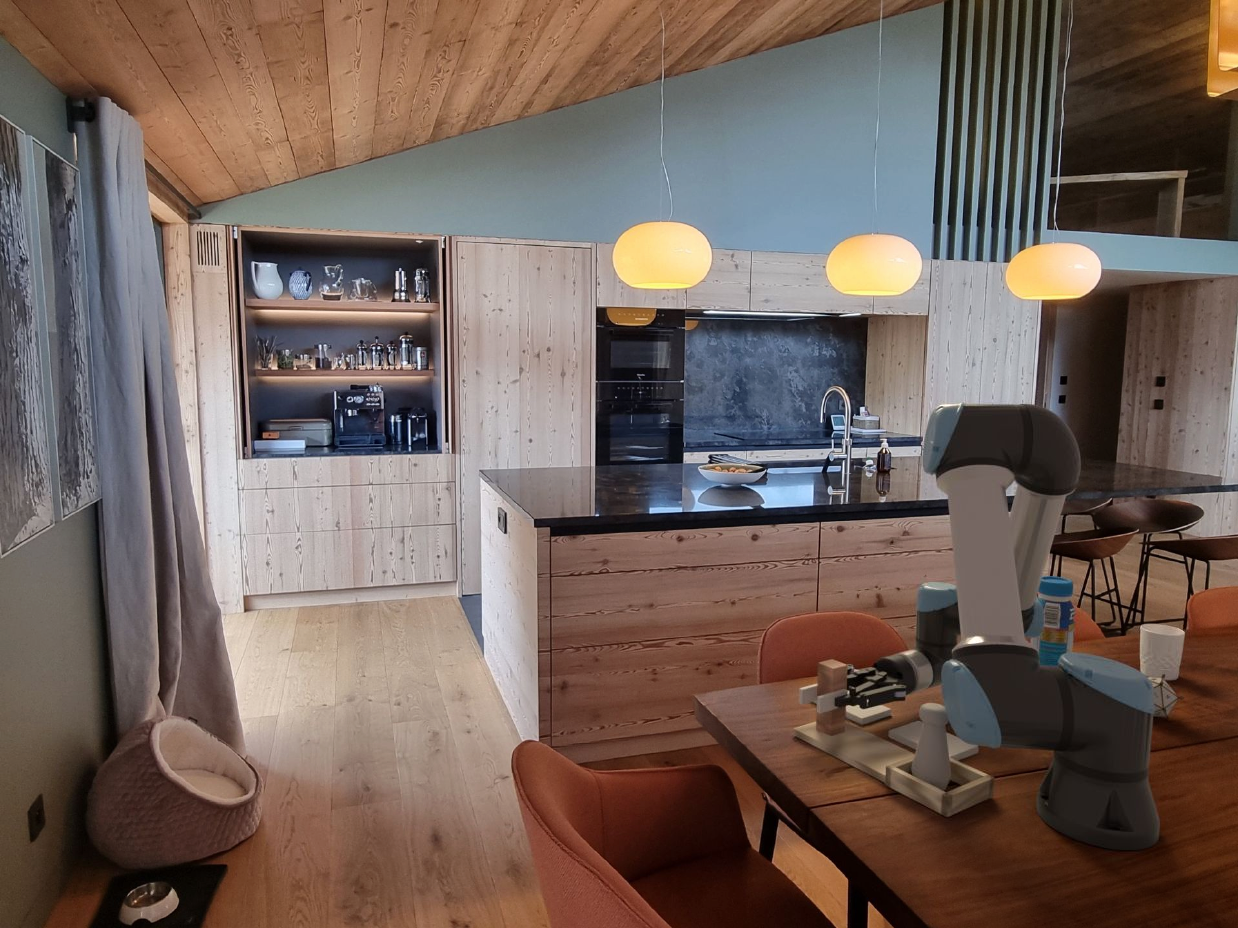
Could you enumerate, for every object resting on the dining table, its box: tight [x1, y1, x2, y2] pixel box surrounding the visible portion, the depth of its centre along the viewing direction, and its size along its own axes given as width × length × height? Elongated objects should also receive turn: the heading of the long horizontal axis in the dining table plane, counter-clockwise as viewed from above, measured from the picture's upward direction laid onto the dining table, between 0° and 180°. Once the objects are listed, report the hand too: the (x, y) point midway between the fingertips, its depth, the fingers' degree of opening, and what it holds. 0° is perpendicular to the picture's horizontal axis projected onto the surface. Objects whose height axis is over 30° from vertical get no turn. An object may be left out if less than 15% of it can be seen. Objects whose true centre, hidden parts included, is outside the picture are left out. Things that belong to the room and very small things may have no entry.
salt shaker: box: [911, 702, 951, 792], centre depth 126 cm, size 6×6×13 cm
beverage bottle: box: [1029, 575, 1076, 666], centre depth 177 cm, size 8×8×20 cm
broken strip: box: [812, 691, 979, 761], centre depth 149 cm, size 32×8×1 cm, turn 32°
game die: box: [1147, 674, 1185, 722], centre depth 153 cm, size 9×8×10 cm
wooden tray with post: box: [792, 658, 995, 818], centre depth 133 cm, size 32×11×13 cm, turn 32°
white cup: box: [1139, 623, 1186, 681], centre depth 174 cm, size 8×8×10 cm
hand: (809, 700), depth 140 cm, fingers closed on wooden tray with post, 3 cm apart
